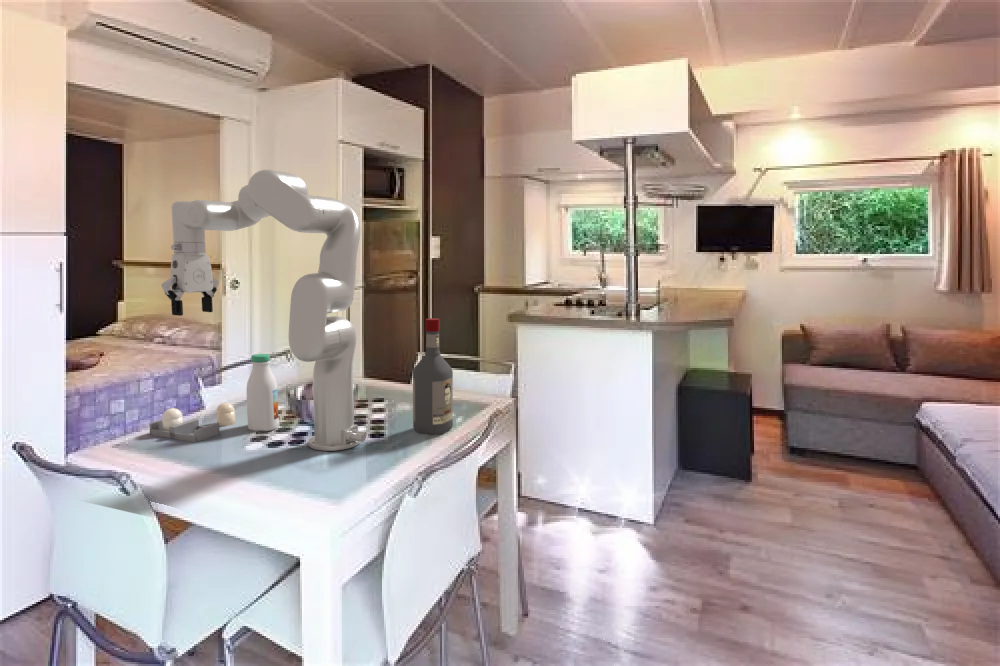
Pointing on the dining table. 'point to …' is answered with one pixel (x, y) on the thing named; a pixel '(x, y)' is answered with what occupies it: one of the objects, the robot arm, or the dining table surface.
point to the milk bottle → (262, 395)
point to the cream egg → (171, 418)
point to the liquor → (432, 387)
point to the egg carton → (185, 430)
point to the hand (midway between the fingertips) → (192, 313)
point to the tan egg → (225, 414)
